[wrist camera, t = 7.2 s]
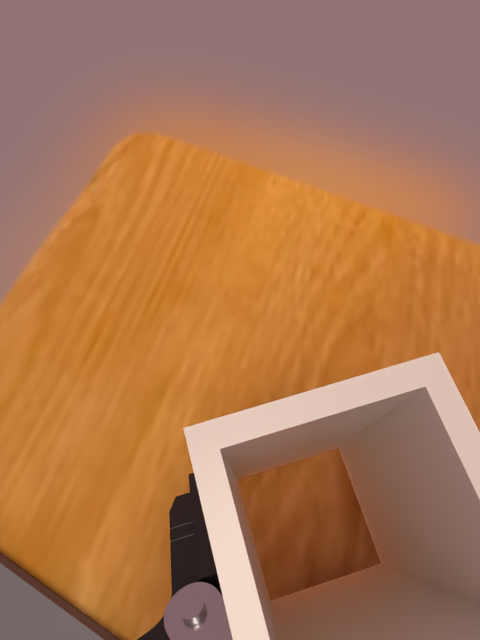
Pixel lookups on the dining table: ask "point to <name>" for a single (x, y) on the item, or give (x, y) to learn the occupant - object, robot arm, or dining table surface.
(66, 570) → the dining table surface
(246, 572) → the sleeve
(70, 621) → the post plate
